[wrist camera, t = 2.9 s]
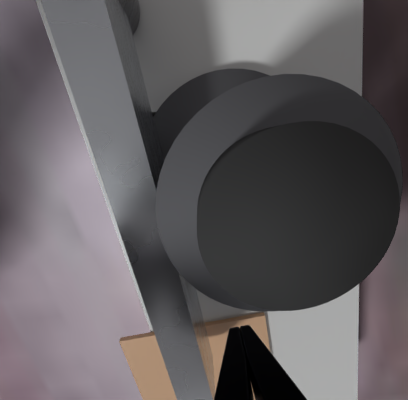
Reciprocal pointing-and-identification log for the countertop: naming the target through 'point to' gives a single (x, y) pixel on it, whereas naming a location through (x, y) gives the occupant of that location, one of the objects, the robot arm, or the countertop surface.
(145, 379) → the white flat board
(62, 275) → the countertop surface
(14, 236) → the countertop surface
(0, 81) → the countertop surface
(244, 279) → the plug
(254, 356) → the robot arm
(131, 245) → the lever with ball end
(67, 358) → the countertop surface
